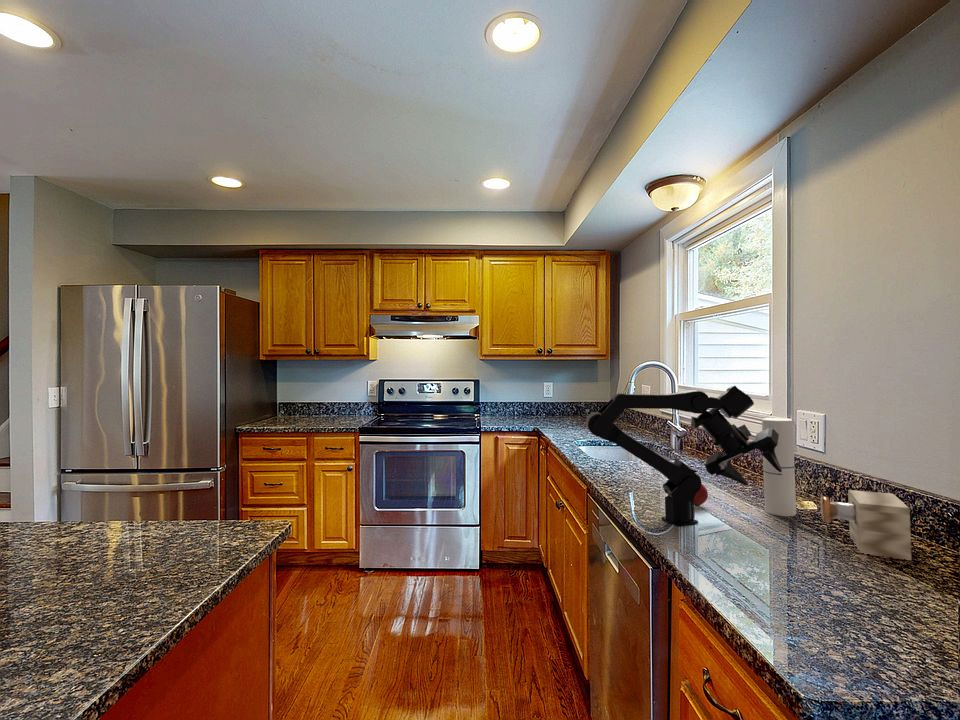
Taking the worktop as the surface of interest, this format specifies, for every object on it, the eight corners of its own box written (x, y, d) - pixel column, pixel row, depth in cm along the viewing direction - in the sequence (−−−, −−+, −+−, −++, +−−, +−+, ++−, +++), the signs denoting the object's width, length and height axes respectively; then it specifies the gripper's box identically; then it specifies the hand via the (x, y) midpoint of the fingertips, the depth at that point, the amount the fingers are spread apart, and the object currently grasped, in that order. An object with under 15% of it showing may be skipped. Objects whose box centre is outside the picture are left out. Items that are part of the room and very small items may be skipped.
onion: (684, 508, 133) (684, 479, 133) (686, 502, 138) (685, 475, 138) (707, 510, 130) (706, 481, 130) (708, 505, 135) (707, 477, 135)
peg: (824, 525, 104) (823, 499, 105) (821, 517, 109) (820, 493, 109) (878, 531, 100) (877, 504, 100) (871, 523, 105) (870, 498, 105)
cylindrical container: (801, 516, 123) (797, 420, 124) (771, 515, 125) (767, 420, 125) (789, 508, 130) (785, 418, 131) (760, 507, 132) (757, 418, 132)
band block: (861, 553, 99) (859, 503, 99) (849, 535, 109) (848, 489, 109) (911, 560, 95) (909, 507, 95) (894, 540, 105) (892, 493, 106)
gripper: (757, 399, 121) (801, 446, 119) (696, 430, 133) (735, 474, 131) (752, 419, 112) (799, 470, 111) (688, 451, 124) (729, 497, 123)
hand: (763, 478), depth 119 cm, fingers open, 9 cm apart
